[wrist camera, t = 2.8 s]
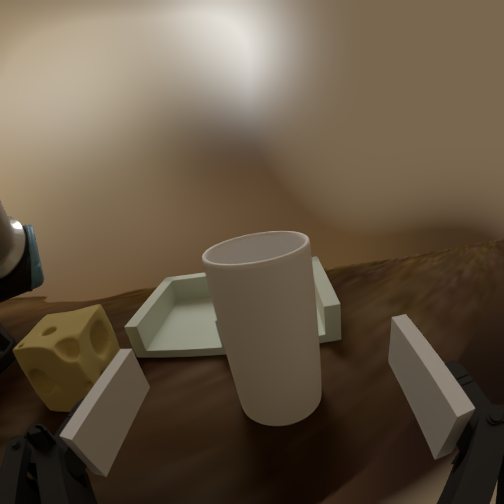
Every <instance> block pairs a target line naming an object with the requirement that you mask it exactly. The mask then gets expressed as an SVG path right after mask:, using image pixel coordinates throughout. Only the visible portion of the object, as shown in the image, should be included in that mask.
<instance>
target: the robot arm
mask: <svg viewBox="0 0 504 504" xmlns="http://www.w3.org/2000/svg"><path fill="white" fill-rule="evenodd" d="M43 282H44V275H43V270H42V266H41V262H40V257H39V253H38V248H37V243H36V238H35V234H34V229H33V226H32V225H24V226H23V227H22V226H21V224H20V223H19V222H18V221H17V220H16V219H14V218H12V217H9V216H7V214H6V212H5V210H4V208H3V206H2V204H1V201H0V302H3V301H5V300H8V299H10V298H13V297H15V296H18V295H20V294H23V293H25V292H28V291H29V292H30V291H32V290H33V289H35V288H37V287H39V286H41V285H42V284H43ZM16 346H17V343H16V341H15V339H14V338H13V336H12V335H11V334H10V333H9V331H8V330H7V329H6V328H5V327H4V325H3V324H2V323H1V322H0V371H2V370H3V369H4V368H5V367H7V366H8V365H9V364H10V363H11V362H12V360H13V359H14V358H15V355H14V353H13V349H14V348H15V347H16ZM388 362H389V364H390V366H391V368H392V370H393V372H394V374H395V376H396V378H397V380H398V382H399V384H400V386H401V388H402V390H403V392H404V394H405V396H406V398H407V400H408V402H409V404H410V406H411V408H412V410H413V412H414V414H415V416H416V418H417V420H418V423H419V425H420V427H421V429H422V431H423V434H424V436H425V438H426V440H427V443H428V445H429V447H430V449H431V452H432V454H433V456H434V459H438V458H440V457H442V456H445V455H447V454H449V453H451V452H452V451H453V449H454V447H455V446H456V445H457V447H458V449H459V452H458V454H457V456H456V457H455V459H454V460H453V462H452V463H451V464H454V466H453V468H452V470H451V473H450V475H449V478H448V480H447V482H446V485H445V487H444V489H443V492H442V494H441V496H440V498H439V500H438V502H437V504H490V501H491V498H492V495H493V492H494V489H495V486H496V482H497V479H498V484H497V496H496V504H504V407H503V406H500V405H497V404H496V405H492V404H491V403H490V402H489V400H488V399H487V398H486V396H485V395H484V393H483V392H482V391H481V389H480V388H479V386H478V385H477V384H476V383H475V381H473V379H472V377H471V376H470V375H469V374H468V372H467V371H466V369H465V368H464V367H463V366H462V365H460V364H459V363H457V362H455V361H454V360H453V361H450V362H448V363H445V364H444V363H443V361H442V360H441V359H440V357H439V356H438V355H437V353H436V352H435V351H434V349H433V348H432V347H431V345H430V344H429V343H428V342H427V340H426V339H425V338H424V336H423V335H422V334H421V333H420V331H419V330H418V329H417V328H416V326H415V325H414V324H413V323H412V321H411V320H410V319H409V318H408V316H407V315H406V314H404V315H400V316H396V317H392V323H391V337H390V348H389V358H388ZM149 388H150V386H149V384H148V382H147V380H146V378H145V376H144V374H143V372H142V370H141V367H140V365H139V363H138V361H137V359H136V357H135V354H134V352H133V350H132V349H120V351H119V352H118V353H117V355H116V356H115V357H114V359H113V360H112V361H111V363H110V364H109V365H108V367H107V368H106V370H105V371H104V372H103V374H102V375H101V376H100V378H99V379H98V381H97V382H96V383H95V385H94V386H93V388H92V389H91V390H90V392H89V393H88V395H87V396H86V397H83V398H82V399H81V400H80V401H78V402H77V403H76V404H75V406H74V407H73V409H72V410H71V412H70V413H69V414H68V417H66V419H65V420H64V421H63V423H62V424H61V426H60V427H59V429H58V430H57V432H56V433H55V435H54V436H53V435H52V434H51V433H50V432H49V431H48V429H47V428H46V427H45V426H44V425H43V424H40V423H37V424H34V425H32V426H30V427H29V428H28V429H27V430H26V432H25V435H24V437H25V438H26V439H27V441H28V442H29V443H28V442H27V441H26V440H25V438H24V437H22V436H19V435H17V436H14V437H12V438H11V439H10V440H9V442H8V444H7V447H6V450H5V454H4V458H3V462H2V467H1V471H0V504H97V501H96V498H95V496H94V493H93V490H92V487H91V483H90V480H89V477H88V474H87V472H86V471H85V468H86V466H87V467H88V468H89V469H90V470H91V471H92V472H93V473H95V474H98V475H102V476H105V477H107V475H108V472H109V470H110V468H111V466H112V464H113V462H114V460H115V457H116V455H117V453H118V451H119V449H120V447H121V445H122V443H123V441H124V439H125V437H126V435H127V432H128V430H129V428H130V426H131V424H132V422H133V420H134V418H135V416H136V414H137V412H138V410H139V408H140V406H141V404H142V402H143V400H144V398H145V396H146V394H147V392H148V390H149ZM27 471H28V472H29V473H30V474H31V475H32V479H29V478H28V477H27Z"/></svg>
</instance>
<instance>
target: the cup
mask: <svg viewBox="0 0 504 504" xmlns="http://www.w3.org/2000/svg"><path fill="white" fill-rule="evenodd" d="M202 259H203V265H204V270H205V274H206V278H207V282H208V286H209V290H210V294H211V298H212V302H213V306H214V310H215V314H216V318H217V322H218V325H219V329H220V333H221V337H222V340H223V344H224V348H225V351H226V355H227V358H228V362H229V365H230V369H231V372H232V376H233V379H234V382H235V386H236V389H237V392H238V396H239V399H240V402H241V405H242V408H243V410H244V412H245V413H246V415H247V416H248V417H249V418H251V419H252V420H254V421H256V422H258V423H260V424H264V425H268V426H284V425H290V424H293V423H296V422H299V421H301V420H303V419H305V418H306V417H308V416H309V415H310V414H311V413H313V412H314V410H315V409H316V408H317V407H318V405H319V403H320V400H321V395H322V391H321V367H320V349H319V333H318V319H317V307H316V295H315V285H314V274H313V265H312V256H311V248H310V241H309V238H308V236H307V235H305V234H302V233H299V232H293V231H271V232H261V233H255V234H249V235H244V236H240V237H236V238H233V239H230V240H226V241H224V242H221V243H219V244H216V245H214V246H213V247H211V248H209V249H208V250H206V251H205V252H204V254H203V255H202Z"/></svg>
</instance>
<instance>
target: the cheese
mask: <svg viewBox="0 0 504 504" xmlns="http://www.w3.org/2000/svg"><path fill="white" fill-rule="evenodd" d="M119 351H120V348H119V345H118V342H117V339H116V336H115V333H114V331H113V328H112V326H111V324H110V322H109V320H108V318H107V316H106V314H105V312H104V310H103V308H102V306H101V305H94V306H90V307H86V308H83V309H79V310H75V311H69V312H63V313H56V314H48V315H46V316H45V317H44V318H43V319H42V320H41V321H40V322H39V323H38V324H37V325H36V326H35V327H34V328H33V329H32V330H31V332H30V333H29V334H28V335H27V336H26V337H25V338H24V339H23V340H22V341H21V342H20V343H19V344H18V345H17V346H16V347H15V348H14V349H13V353H14V355H15V357H16V359H17V361H18V363H19V364H20V366H21V368H22V370H23V372H24V373H25V375H26V376H27V378H28V380H29V381H30V383H31V385H32V386H33V388H34V390H35V391H36V393H37V394H38V396H39V397H40V398H41V400H42V401H43V402H44V403H45V405H46V406H47V407H48V408H49V410H51V411H60V412H71V410H72V409H73V407H74V406H75V404H76V403H77V402H78V401H80V400H81V399H82V398H83V397H86V396H87V395H88V393H89V392H90V390H91V389H92V388H93V386H94V385H95V383H96V382H97V381H98V379H99V378H100V376H101V375H102V374H103V372H104V371H105V370H106V368H107V367H108V365H109V364H110V363H111V361H112V360H113V359H114V357H115V356H116V355H117V353H118V352H119Z"/></svg>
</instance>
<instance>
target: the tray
mask: <svg viewBox="0 0 504 504" xmlns="http://www.w3.org/2000/svg"><path fill="white" fill-rule="evenodd" d="M312 265H313V274H314V285H315V295H316V307H317V319H318V333H319V343H324V342H330V341H336V340H341V310H340V302H339V300H338V298H337V296H336V294H335V292H334V290H333V288H332V286H331V284H330V282H329V280H328V278H327V275H326V273H325V271H324V269H323V268H322V266H321V263H320V261H319V259H318V257H312ZM125 330H126V332H127V335H128V337H129V339H130V342H131V344H132V346H133V349H134V351H135V353H136V356H137V357H190V356H210V355H224V354H226V351H225V348H224V344H223V340H222V337H221V333H220V329H219V325H218V322H217V318H216V314H215V310H214V306H213V302H212V298H211V294H210V290H209V286H208V282H207V278H206V274H205V273H199V274H190V275H184V276H175V277H168V278H165V280H164V281H163V282H162V283H161V284H160V285H159V286H158V288H157V289H156V290H155V291H154V292H153V293H152V295H151V296H150V297H149V298H148V299H147V300H146V302H145V303H144V304H143V305H142V306H141V308H140V309H139V310H138V311H137V312H136V314H135V315H134V316H133V317H132V318H131V320H130V321H129V322H128V323H127V324H126V326H125Z"/></svg>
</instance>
